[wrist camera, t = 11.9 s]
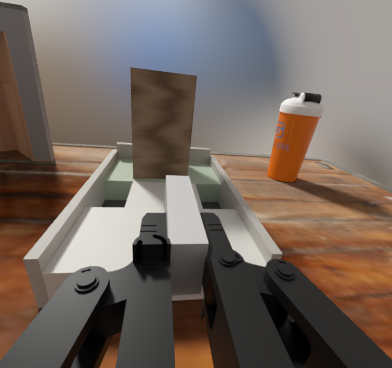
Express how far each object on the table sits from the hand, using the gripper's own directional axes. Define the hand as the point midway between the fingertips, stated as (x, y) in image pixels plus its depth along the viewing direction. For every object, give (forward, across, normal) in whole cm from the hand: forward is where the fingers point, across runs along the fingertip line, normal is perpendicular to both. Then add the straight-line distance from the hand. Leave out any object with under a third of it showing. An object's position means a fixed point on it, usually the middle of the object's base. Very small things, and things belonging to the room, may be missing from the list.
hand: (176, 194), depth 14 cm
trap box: (+16, 0, -12) cm, 20 cm away
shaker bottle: (+34, +30, -12) cm, 46 cm away
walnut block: (+25, -1, -8) cm, 26 cm away
